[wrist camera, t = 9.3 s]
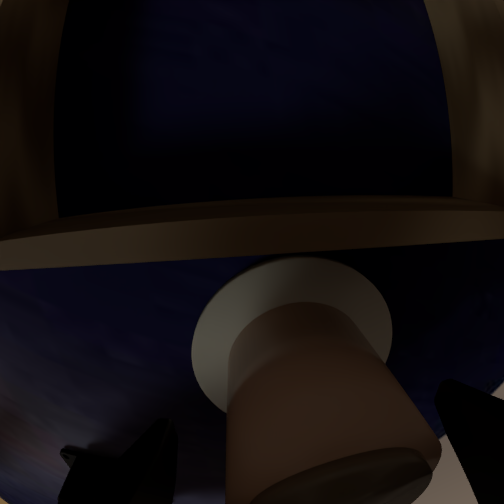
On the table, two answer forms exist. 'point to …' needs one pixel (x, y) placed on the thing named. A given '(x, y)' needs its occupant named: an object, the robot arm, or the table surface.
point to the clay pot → (320, 416)
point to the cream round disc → (277, 294)
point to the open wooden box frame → (246, 210)
